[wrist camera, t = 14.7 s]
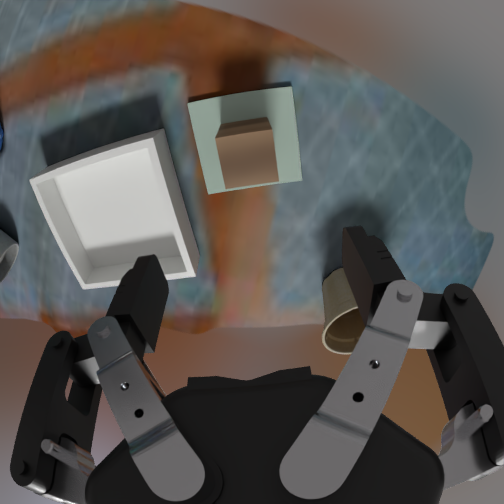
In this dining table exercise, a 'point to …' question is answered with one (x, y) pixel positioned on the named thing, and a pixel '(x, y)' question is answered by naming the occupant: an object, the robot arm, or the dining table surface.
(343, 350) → the flower pot
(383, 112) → the dining table surface
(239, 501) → the robot arm
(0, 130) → the snack cup
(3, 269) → the ceramic mug
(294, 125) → the sage mat
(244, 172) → the walnut block
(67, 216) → the white bin
